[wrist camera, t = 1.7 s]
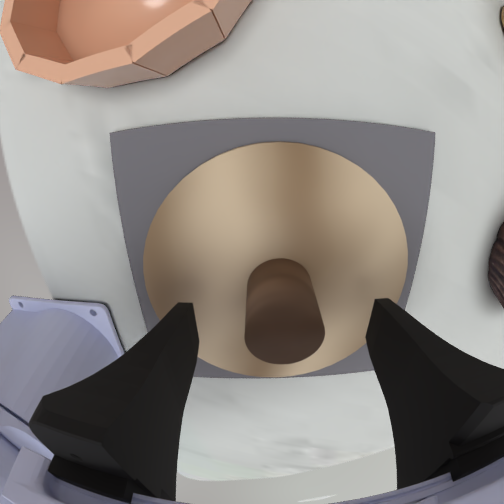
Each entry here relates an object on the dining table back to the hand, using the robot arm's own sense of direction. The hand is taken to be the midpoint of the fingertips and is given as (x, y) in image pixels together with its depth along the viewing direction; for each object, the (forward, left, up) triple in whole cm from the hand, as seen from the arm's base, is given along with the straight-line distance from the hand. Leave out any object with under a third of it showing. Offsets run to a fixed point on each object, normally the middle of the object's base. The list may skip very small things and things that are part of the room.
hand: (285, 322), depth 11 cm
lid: (0, 0, -4) cm, 4 cm away
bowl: (-6, +15, -4) cm, 17 cm away
